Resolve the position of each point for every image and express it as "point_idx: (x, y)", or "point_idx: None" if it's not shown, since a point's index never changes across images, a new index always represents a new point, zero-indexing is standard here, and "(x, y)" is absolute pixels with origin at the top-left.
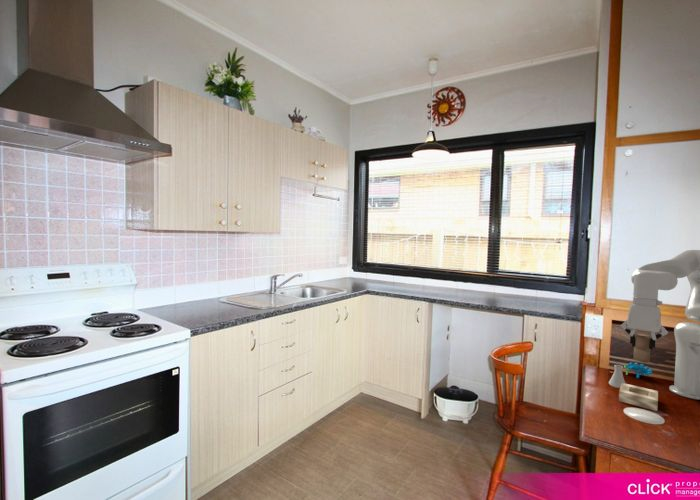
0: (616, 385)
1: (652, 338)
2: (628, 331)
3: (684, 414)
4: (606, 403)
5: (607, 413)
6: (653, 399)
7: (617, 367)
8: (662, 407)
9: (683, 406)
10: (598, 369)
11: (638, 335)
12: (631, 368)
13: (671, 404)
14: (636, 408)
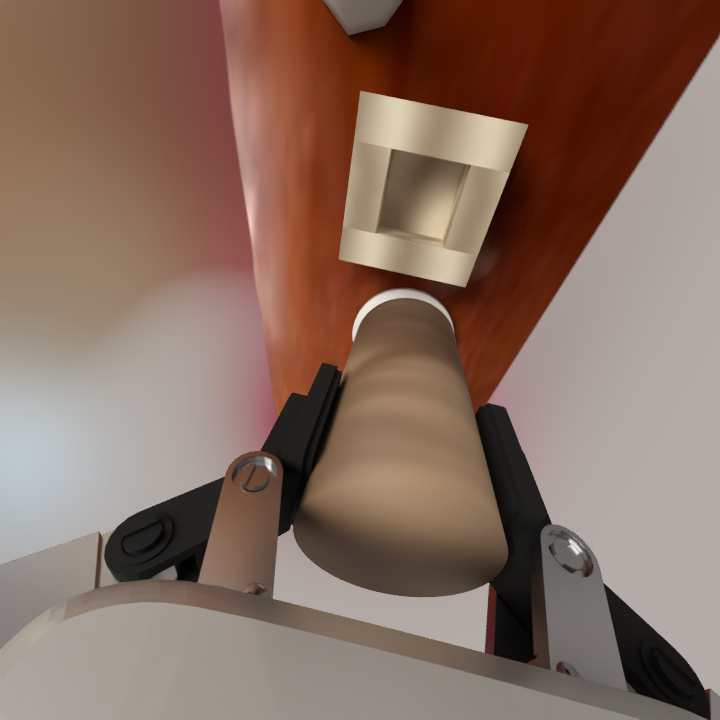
0: (350, 15)
1: (490, 592)
2: (192, 557)
3: (568, 220)
4: (312, 273)
5: (315, 348)
6: (452, 280)
7: None
8: (507, 187)
9: (634, 96)
10: None
11: (334, 556)
12: None
13: (577, 105)
14: (393, 295)
